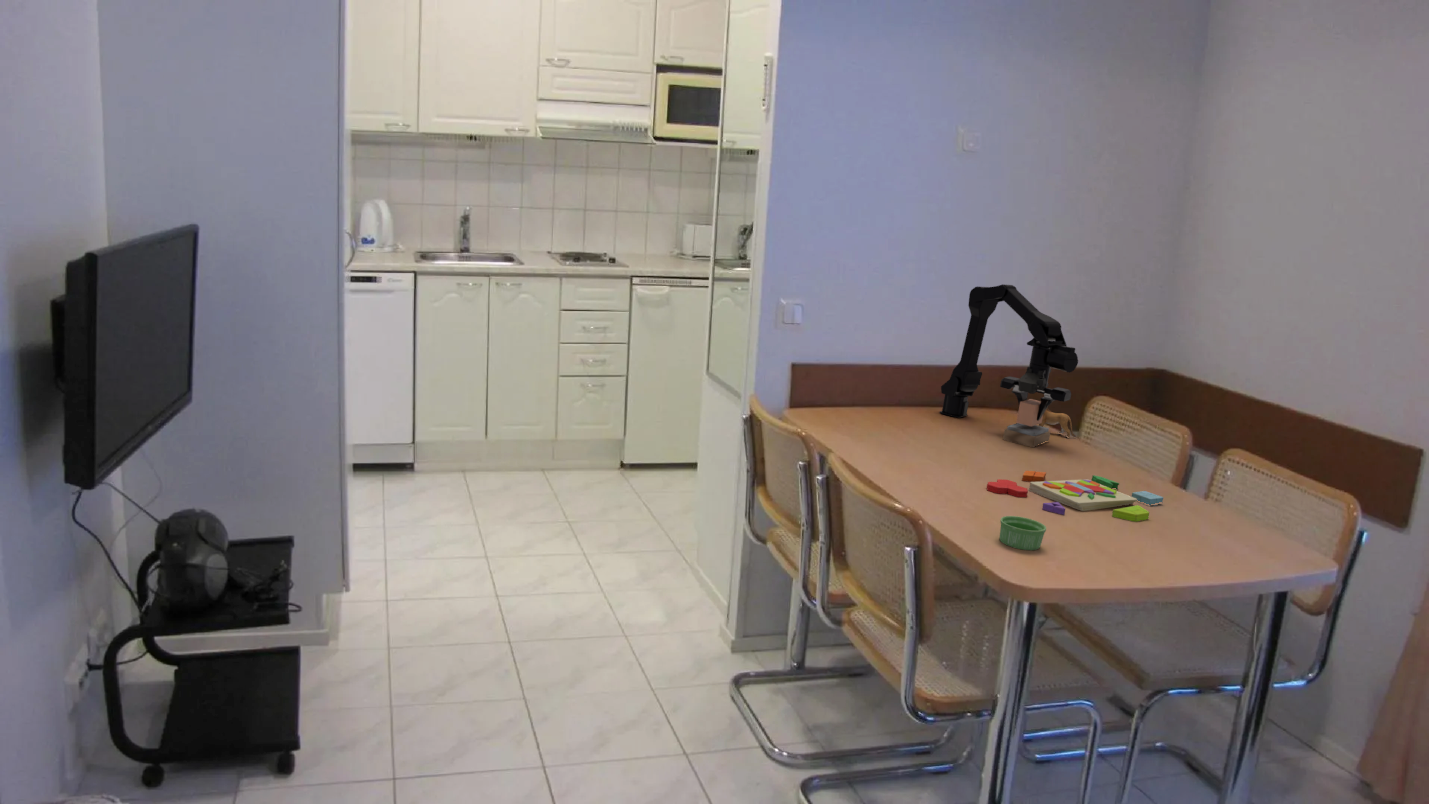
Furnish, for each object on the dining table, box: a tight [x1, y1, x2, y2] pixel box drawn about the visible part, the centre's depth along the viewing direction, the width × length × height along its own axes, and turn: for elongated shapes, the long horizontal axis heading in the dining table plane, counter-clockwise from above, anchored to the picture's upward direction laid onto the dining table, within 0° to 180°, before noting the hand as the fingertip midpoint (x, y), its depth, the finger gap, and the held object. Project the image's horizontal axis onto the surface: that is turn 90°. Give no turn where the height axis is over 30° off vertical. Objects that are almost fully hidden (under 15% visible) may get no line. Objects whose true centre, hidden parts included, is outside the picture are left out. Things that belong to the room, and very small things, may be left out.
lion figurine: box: [1038, 408, 1077, 438], centre depth 339 cm, size 15×5×9 cm, turn 74°
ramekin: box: [999, 515, 1047, 551], centre depth 231 cm, size 9×9×4 cm
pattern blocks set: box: [986, 470, 1164, 523], centre depth 272 cm, size 38×34×3 cm
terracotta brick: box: [1015, 398, 1043, 426], centre depth 325 cm, size 4×8×6 cm, turn 144°
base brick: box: [1002, 423, 1051, 448], centre depth 326 cm, size 9×12×4 cm
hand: (1029, 418), depth 325 cm, fingers closed on terracotta brick, 4 cm apart
